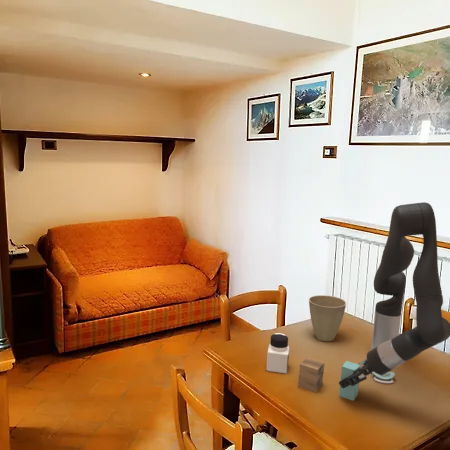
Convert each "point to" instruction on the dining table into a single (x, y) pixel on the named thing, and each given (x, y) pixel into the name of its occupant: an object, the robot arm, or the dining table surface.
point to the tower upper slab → (311, 369)
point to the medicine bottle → (278, 353)
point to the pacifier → (384, 377)
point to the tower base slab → (310, 383)
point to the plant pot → (326, 315)
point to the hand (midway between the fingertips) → (344, 380)
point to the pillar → (349, 391)
